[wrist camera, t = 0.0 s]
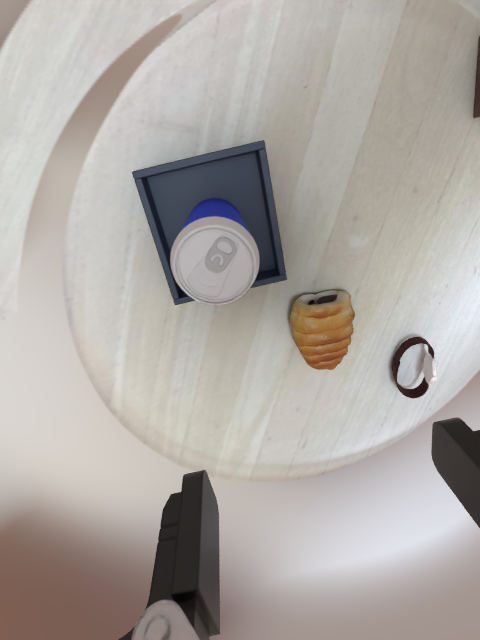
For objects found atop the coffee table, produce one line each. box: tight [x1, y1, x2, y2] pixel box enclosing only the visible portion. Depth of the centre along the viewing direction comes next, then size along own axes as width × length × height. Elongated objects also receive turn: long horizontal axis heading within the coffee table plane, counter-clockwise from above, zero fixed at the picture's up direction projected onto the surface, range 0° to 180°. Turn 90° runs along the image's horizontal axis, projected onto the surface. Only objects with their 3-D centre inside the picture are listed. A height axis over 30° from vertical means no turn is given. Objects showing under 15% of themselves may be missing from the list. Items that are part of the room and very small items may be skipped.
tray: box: [132, 140, 287, 305], centre depth 31 cm, size 12×11×3 cm
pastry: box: [290, 290, 355, 370], centre depth 36 cm, size 9×7×4 cm
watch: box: [392, 337, 437, 398], centre depth 39 cm, size 8×5×4 cm, turn 5°
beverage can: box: [170, 198, 259, 305], centre depth 25 cm, size 5×5×15 cm
